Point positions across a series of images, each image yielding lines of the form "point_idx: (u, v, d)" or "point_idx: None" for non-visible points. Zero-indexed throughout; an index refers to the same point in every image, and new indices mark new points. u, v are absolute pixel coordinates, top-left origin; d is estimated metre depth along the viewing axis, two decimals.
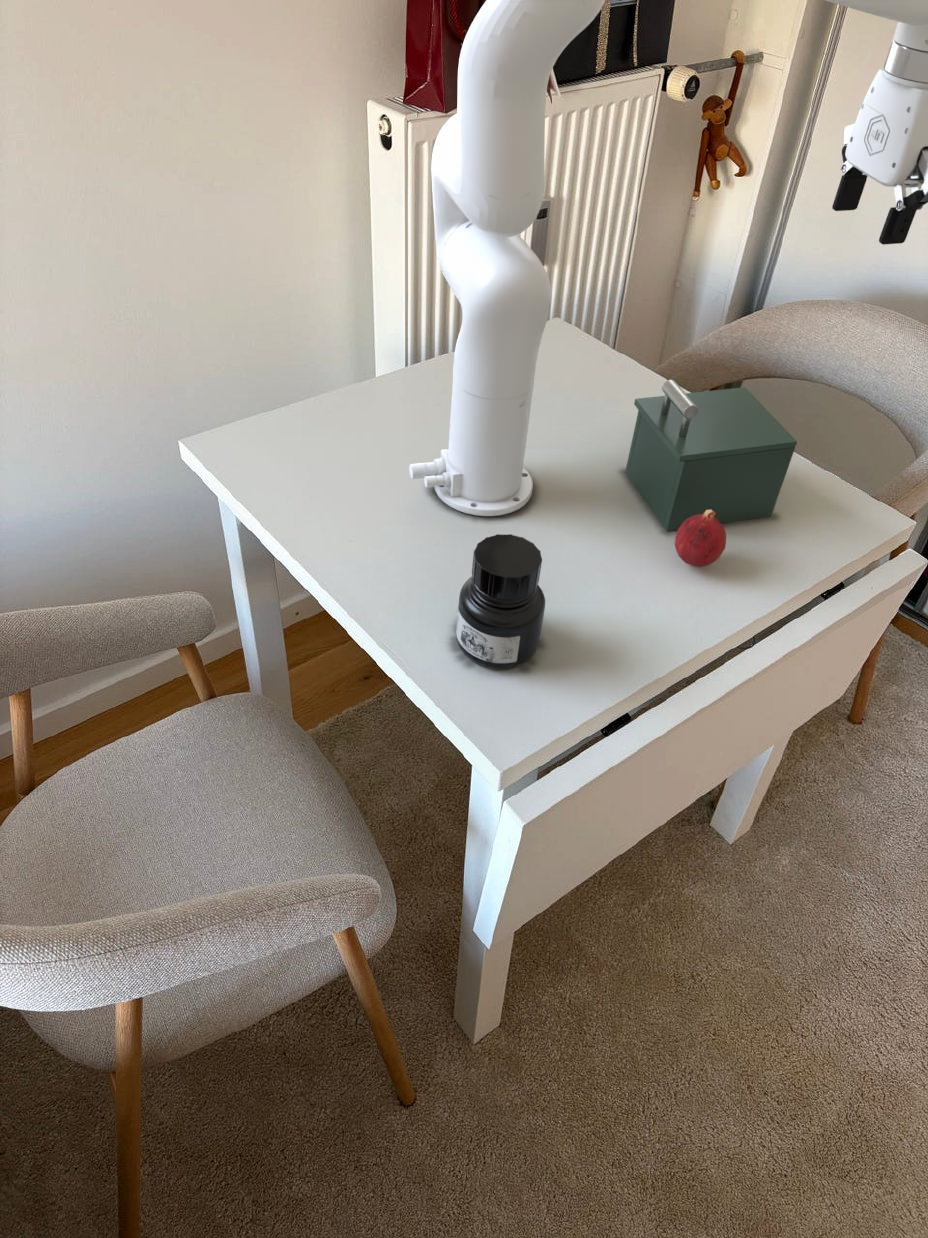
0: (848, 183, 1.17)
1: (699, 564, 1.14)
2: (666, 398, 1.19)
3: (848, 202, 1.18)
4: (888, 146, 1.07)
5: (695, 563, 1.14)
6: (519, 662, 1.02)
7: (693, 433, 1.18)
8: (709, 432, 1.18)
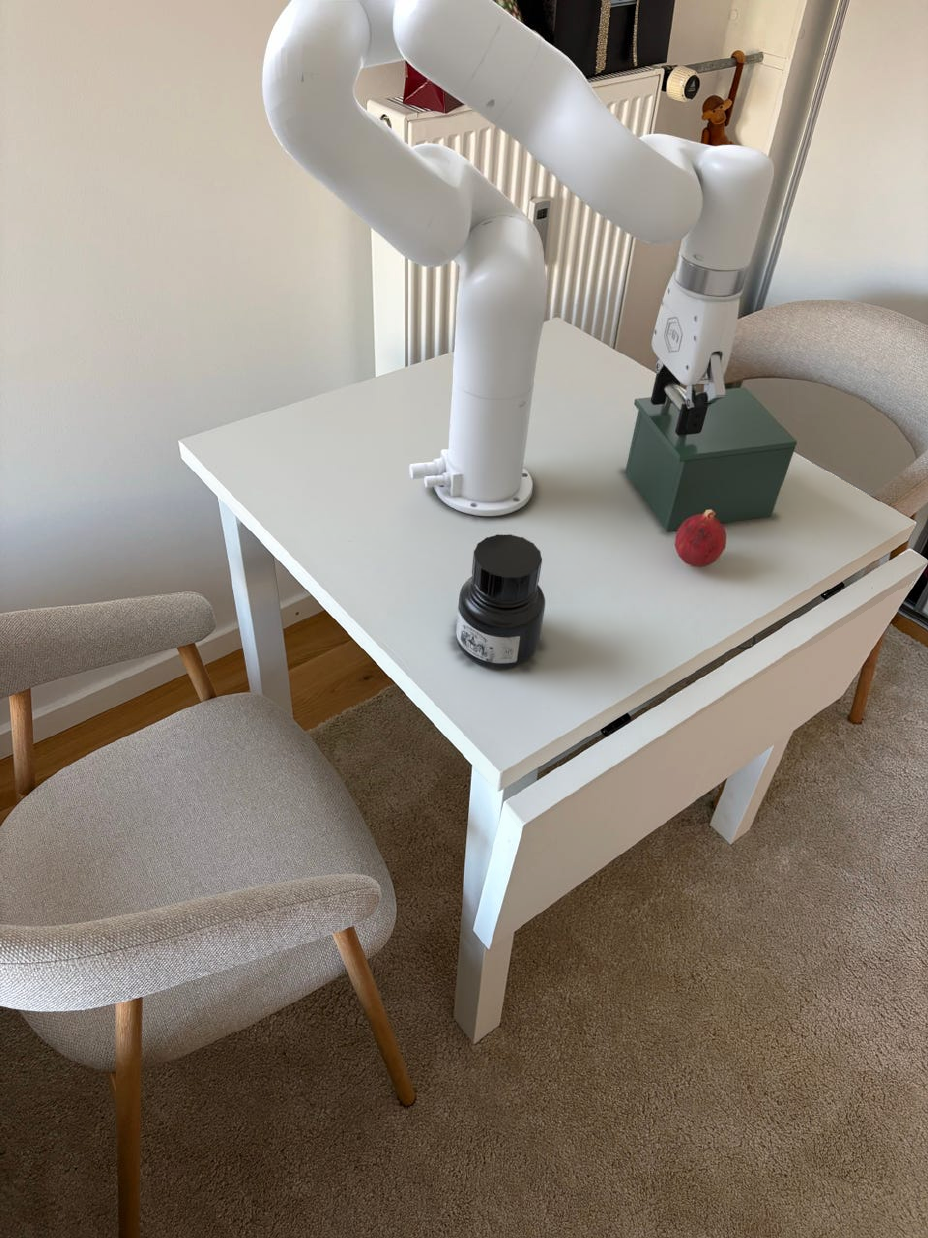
0: (663, 381, 1.18)
1: (699, 564, 1.14)
2: (666, 398, 1.19)
3: None
4: (682, 348, 1.09)
5: (695, 563, 1.14)
6: (519, 662, 1.02)
7: None
8: (709, 432, 1.18)
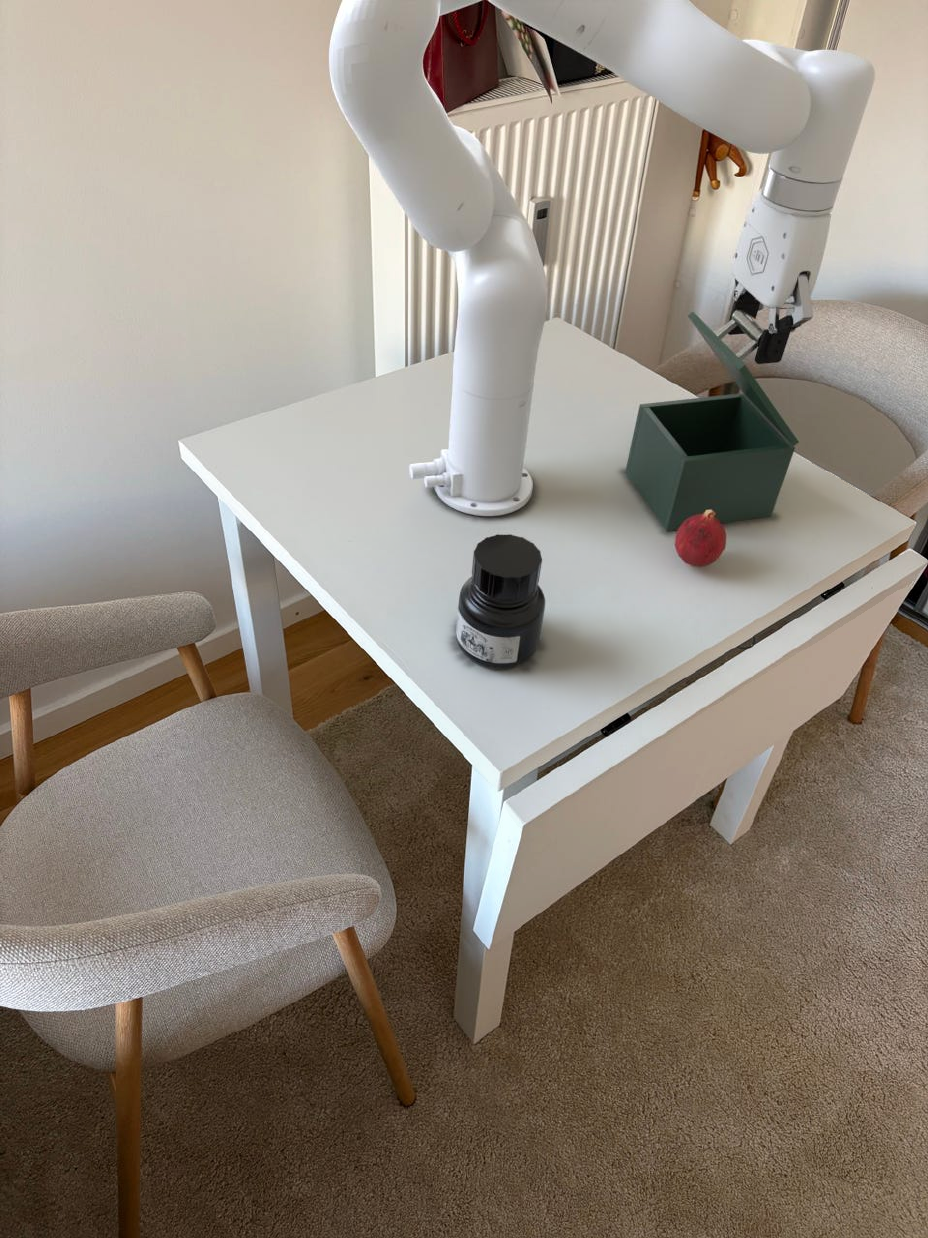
0: None
1: (699, 564, 1.14)
2: (731, 323, 1.14)
3: None
4: (767, 269, 1.05)
5: (695, 563, 1.14)
6: (519, 662, 1.02)
7: None
8: None
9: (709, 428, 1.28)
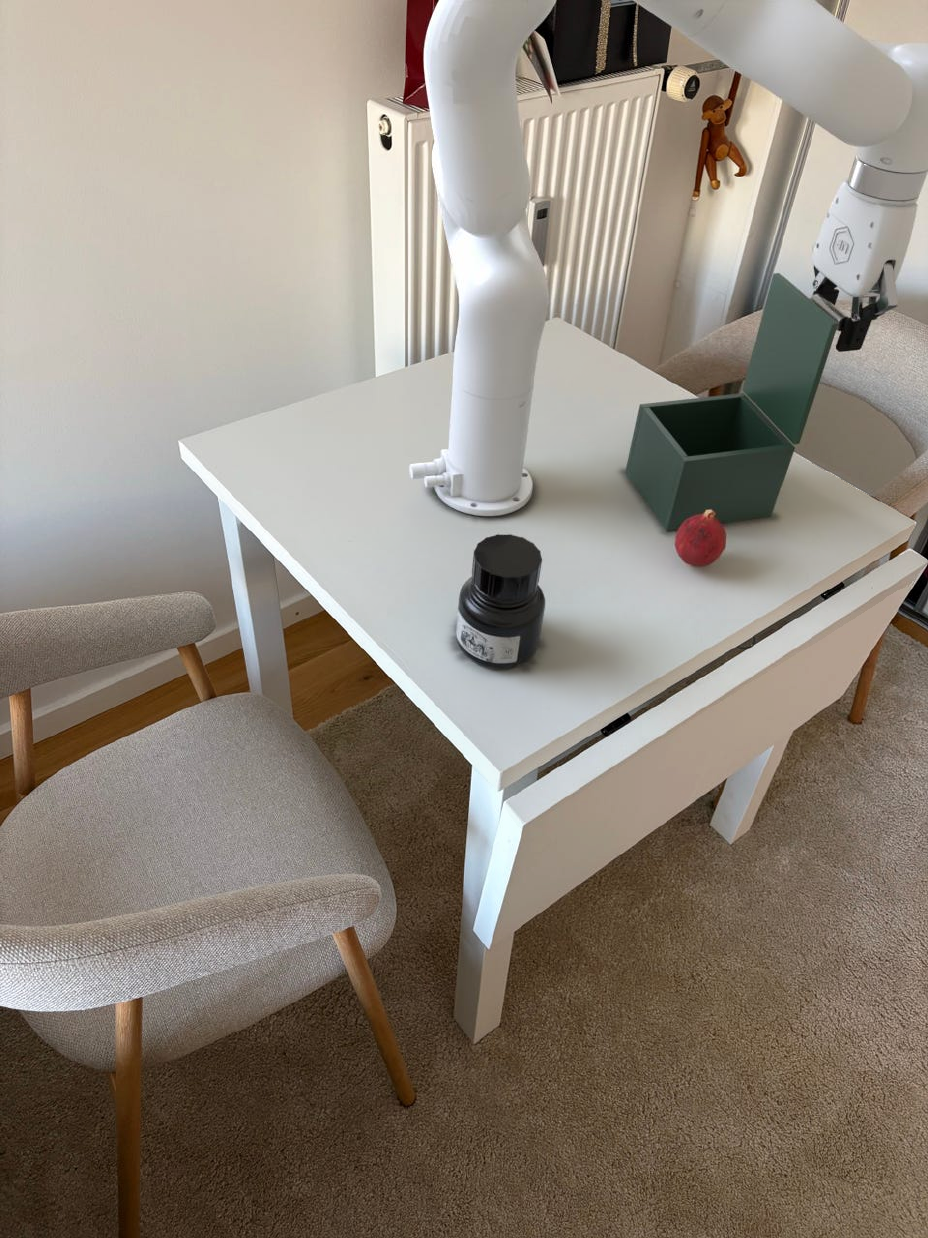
0: None
1: (699, 564, 1.14)
2: None
3: None
4: (852, 258, 1.07)
5: (695, 563, 1.14)
6: (519, 662, 1.02)
7: None
8: None
9: (709, 428, 1.28)
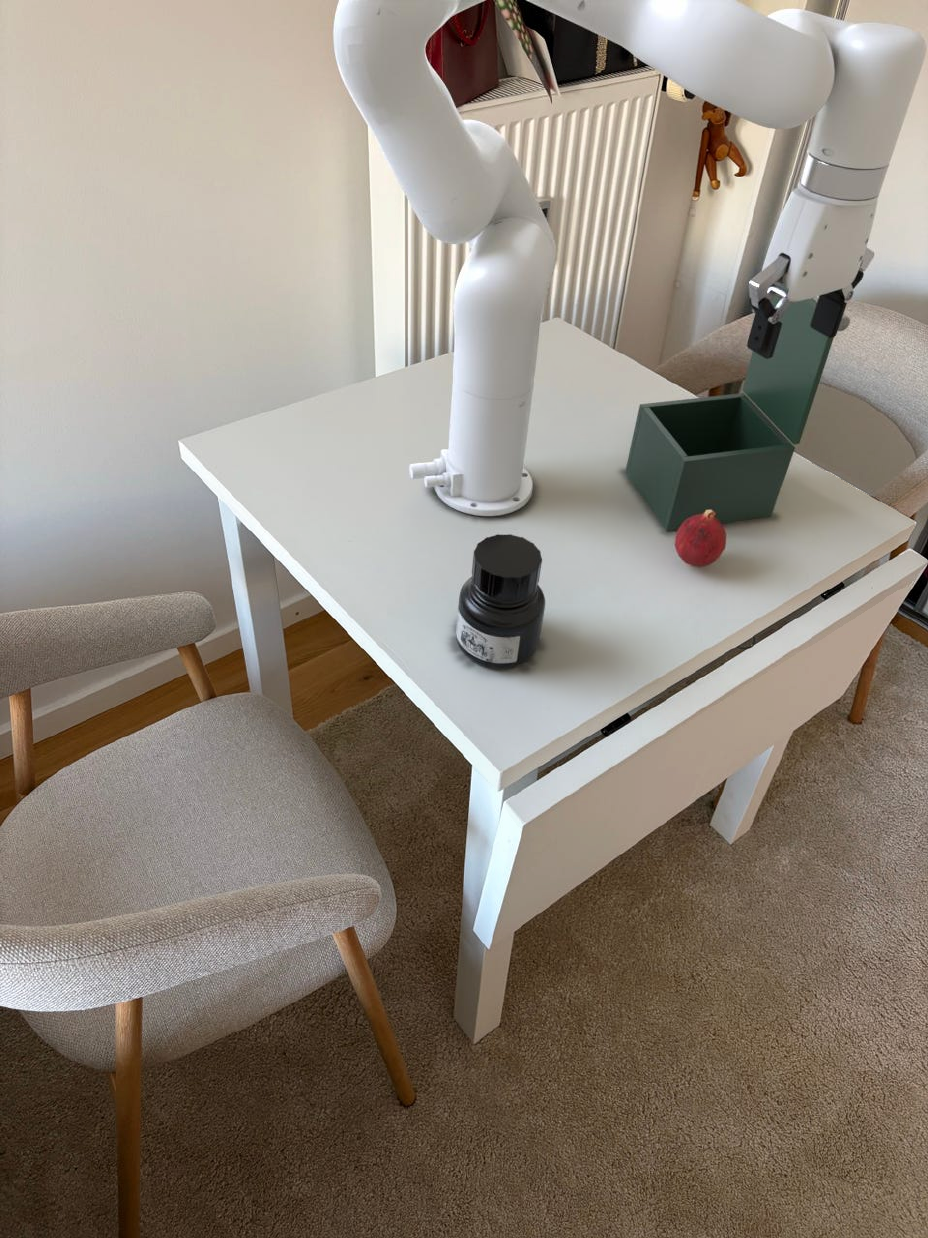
0: (822, 301, 1.05)
1: (699, 564, 1.14)
2: None
3: (821, 324, 1.06)
4: None
5: (695, 563, 1.14)
6: (519, 662, 1.02)
7: None
8: None
9: (709, 428, 1.28)
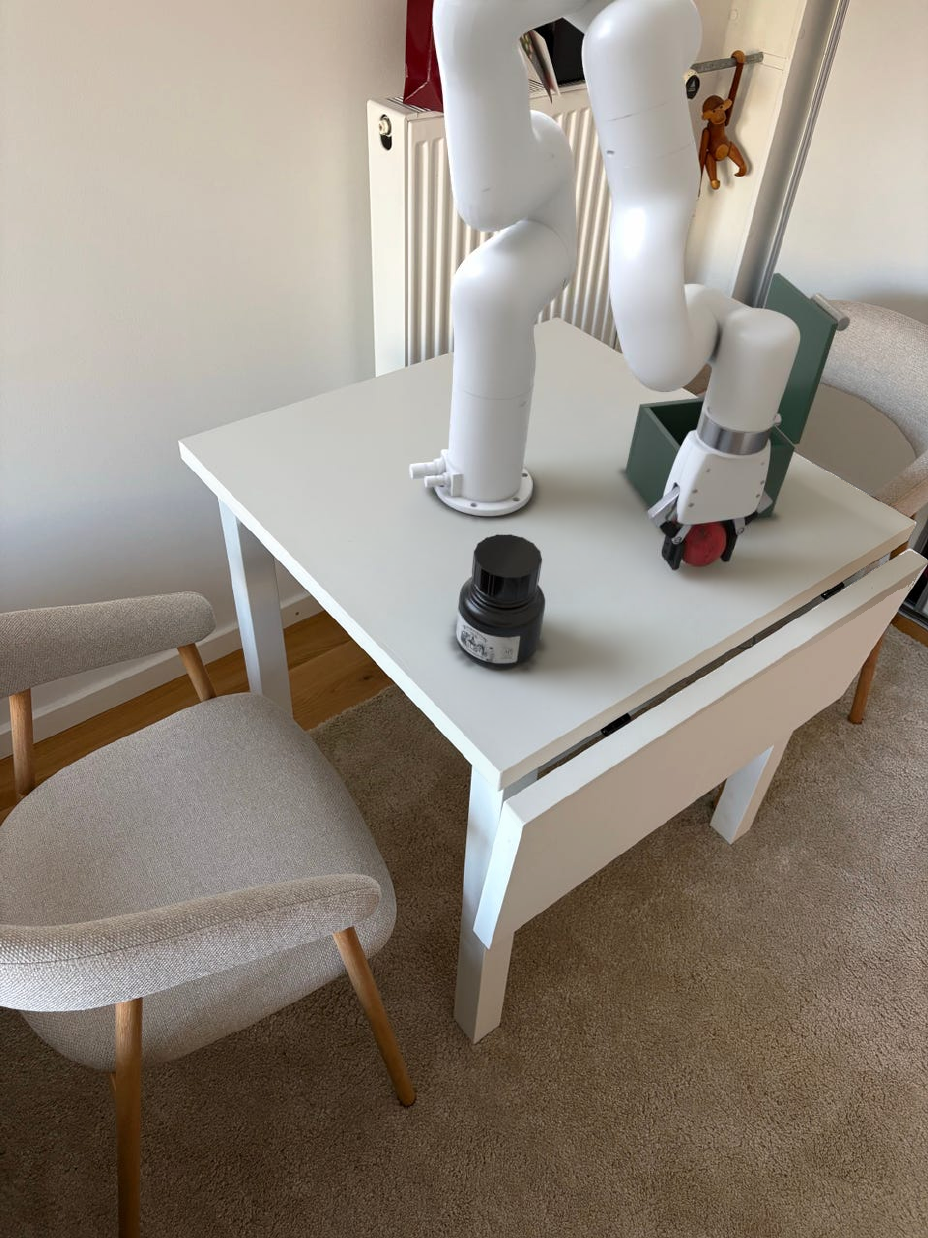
0: None
1: (699, 564, 1.14)
2: None
3: None
4: None
5: (695, 563, 1.14)
6: (519, 662, 1.02)
7: None
8: None
9: None
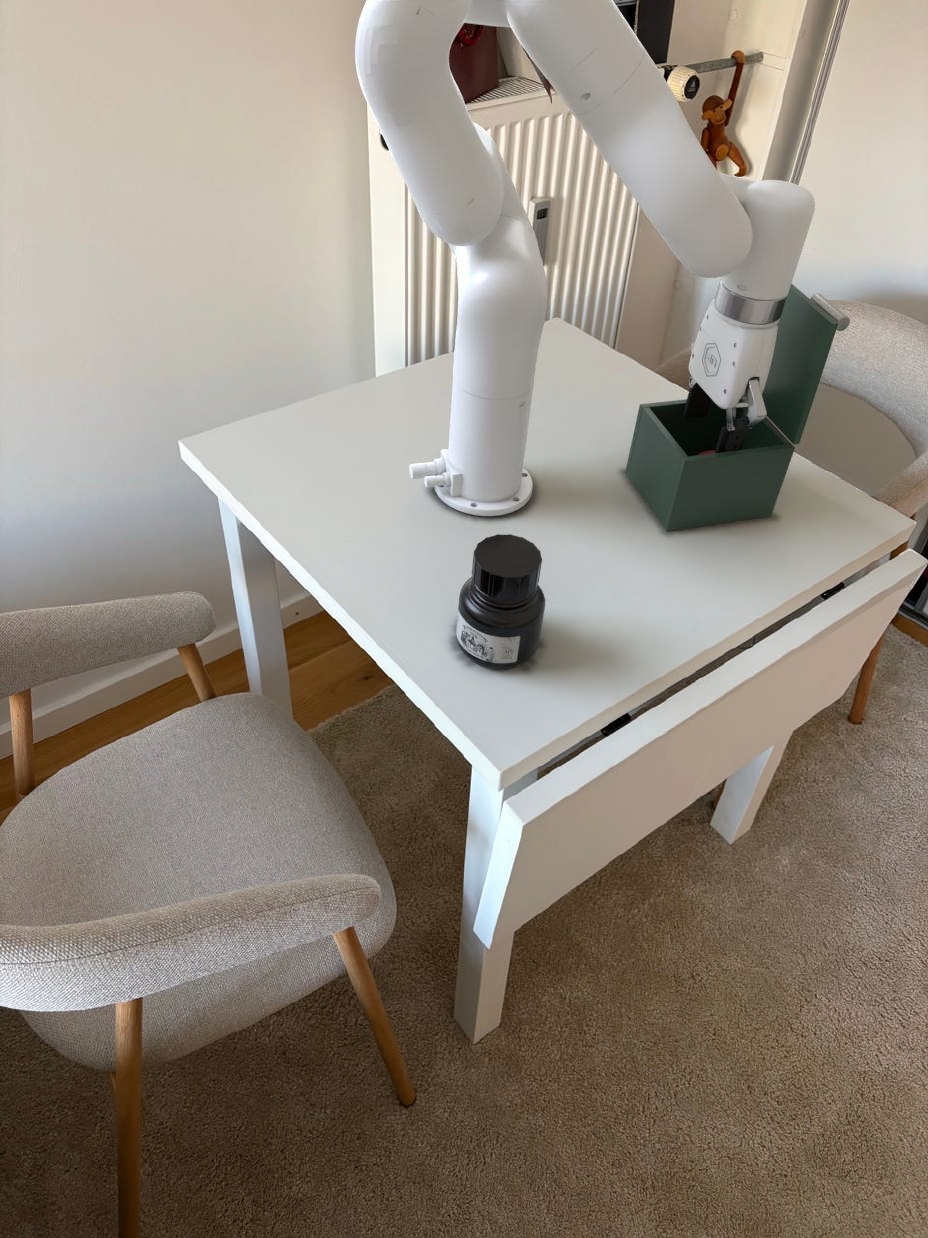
0: (695, 396, 1.22)
1: None
2: None
3: (697, 411, 1.24)
4: (720, 373, 1.12)
5: None
6: (519, 662, 1.02)
7: None
8: None
9: (709, 428, 1.28)
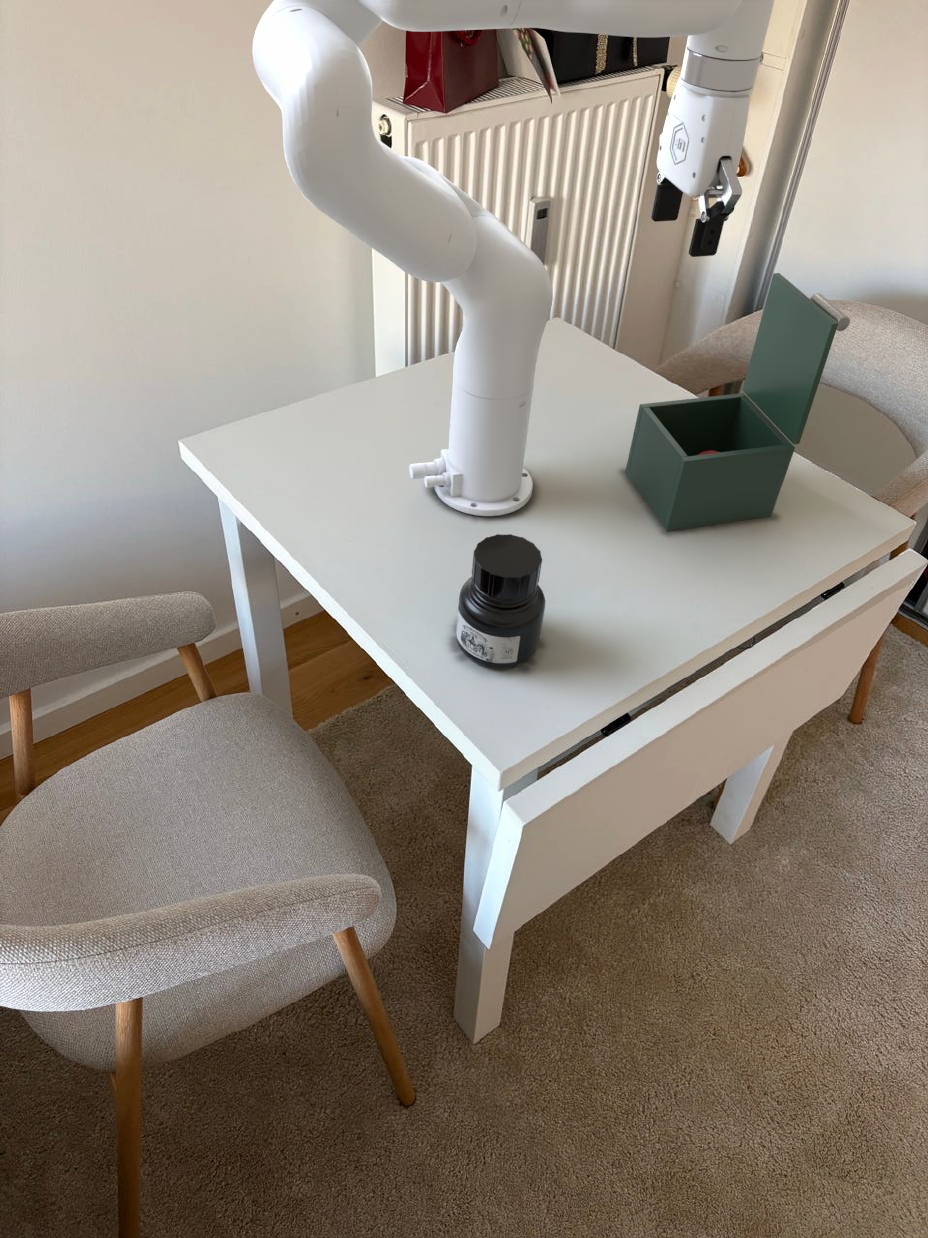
0: (664, 193, 1.13)
1: None
2: None
3: (667, 212, 1.14)
4: (688, 155, 1.03)
5: None
6: (519, 662, 1.02)
7: None
8: None
9: (709, 428, 1.28)
